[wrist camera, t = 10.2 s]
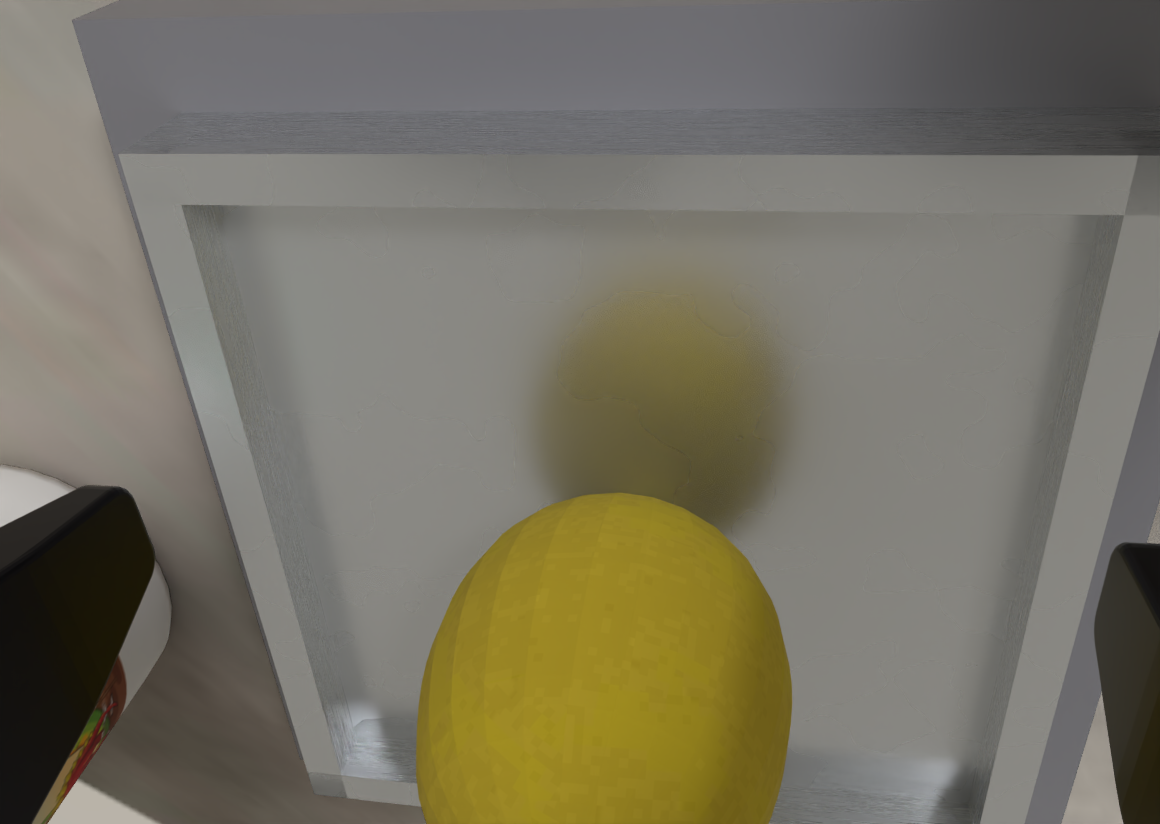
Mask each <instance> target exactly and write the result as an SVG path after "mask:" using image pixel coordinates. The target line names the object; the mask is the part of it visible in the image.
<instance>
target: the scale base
mask: <svg viewBox="0 0 1160 824" xmlns="http://www.w3.org/2000/svg"><path fill="white" fill-rule="evenodd" d="M72 22H73V25H74V29H75V32H76V35H77V38H78V42H79V45H80V48H81V51H82V55H83V58H84V61H85V64H86V67H87V71H88V74H89V77H90V80H91V84H92V87H93V90H94V93H95V97H96V100H97V103H98V106H99V110H100V113H101V116H102V119H103V122H104V126H105V129H106V132H107V135H108V139H109V142H110V145H111V148H112V152H113V155H114V158H115V161H116V165H117V168H118V171H119V174H120V177H121V181H122V184H123V187H124V190H125V194H126V197H127V200H128V203H129V207H130V210H131V213H132V216H133V220H134V223H135V226H136V229H137V232H138V236H139V239H140V242H141V245H142V249H143V252H144V255H145V258H146V262H147V265H148V268H149V271H150V275H151V278H152V281H153V284H154V288H155V291H156V294H157V297H158V300H159V304H160V307H161V310H162V313H163V317H164V320H165V323H166V326H167V330H168V333H169V336H170V339H171V343H172V346H173V349H174V352H175V355H176V359H177V362H178V365H179V368H180V372H181V375H182V378H183V381H184V385H185V388H186V391H187V394H188V398H189V401H190V404H191V407H192V410H193V414H194V417H195V420H196V423H197V427H198V430H199V433H200V436H201V440H202V443H203V446H204V449H205V453H206V456H207V459H208V462H209V465H210V469H211V472H212V475H213V478H214V482H215V485H216V488H217V491H218V495H219V498H220V501H221V504H222V508H223V511H224V514H225V517H226V520H227V524H228V527H229V530H230V533H231V537H232V540H233V543H234V546H235V550H236V553H237V556H238V559H239V563H240V566H241V569H242V572H243V575H244V579H245V582H246V585H247V588H248V592H249V595H250V598H251V601H252V605H253V608H254V611H255V614H256V618H257V621H258V624H259V627H260V631H261V634H262V637H263V640H264V643H265V647H266V650H267V653H268V656H269V660H270V663H271V666H272V669H273V673H274V676H275V679H276V682H277V686H278V689H279V692H280V695H281V698H282V702H283V705H284V708H285V711H286V715H287V718H288V721H289V724H290V728H291V731H292V734H293V737H294V741H295V744H296V747H297V750H298V753H299V757H300V759H302V760H304V759H303V756H302V752H301V749H300V746H299V743H298V739H297V736H296V733H295V730H294V726H293V723H292V720H291V716H290V713H289V710H288V707H287V703H286V700H285V697H284V694H283V690H282V687H281V684H280V681H279V677H278V674H277V671H276V668H275V664H274V661H273V658H272V654H271V651H270V648H269V645H268V641H267V638H266V635H265V632H264V628H263V625H262V622H261V619H260V615H259V612H258V609H257V606H256V602H255V599H254V596H253V592H252V589H251V586H250V583H249V579H248V576H247V573H246V570H245V566H244V563H243V560H242V557H241V553H240V550H239V547H238V544H237V540H236V537H235V534H234V530H233V527H232V524H231V521H230V517H229V514H228V511H227V508H226V504H225V501H224V498H223V495H222V491H221V488H220V485H219V482H218V478H217V475H216V472H215V468H214V465H213V462H212V459H211V455H210V452H209V449H208V446H207V442H206V439H205V436H204V433H203V429H202V426H201V423H200V419H199V416H198V413H197V410H196V406H195V403H194V400H193V397H192V393H191V390H190V387H189V384H188V380H187V377H186V374H185V371H184V367H183V364H182V361H181V357H180V354H179V351H178V348H177V344H176V341H175V338H174V335H173V331H172V328H171V325H170V322H169V318H168V315H167V312H166V309H165V305H164V302H163V299H162V295H161V292H160V289H159V286H158V282H157V279H156V276H155V273H154V269H153V266H152V263H151V260H150V256H149V253H148V250H147V247H146V243H145V240H144V237H143V233H142V230H141V227H140V224H139V220H138V217H137V214H136V211H135V207H134V204H133V201H132V198H131V194H130V191H129V188H128V185H127V181H126V178H125V175H124V171H123V168H122V165H121V162H120V158H119V155H118V154H119V153H120V152H122V151H123V150H125V149H126V148H128V147H129V146H131V145H133V144H134V143H136V142H137V141H139V140H140V139H142V138H143V137H145V136H147V135H148V134H150V133H151V132H153V131H154V130H156V129H157V128H159V127H161V126H162V125H164V124H165V123H167V122H168V121H170V120H171V119H173V118H175V117H176V116H178V115H179V114H181V113H182V112H348V111H521V110H693V109H865V108H1037V107H1160V0H119V1H116V2H114V3H111V4H109V5H107V6H104V7H102V8H100V9H97V10H95V11H92V12H90V13H88V14H85V15H83V16H80V17H78V18H76V19H73V20H72ZM1159 500H1160V331H1159V334H1158V338H1157V342H1156V345H1155V349H1154V353H1153V356H1152V360H1151V364H1150V367H1149V371H1148V374H1147V378H1146V382H1145V385H1144V389H1143V393H1142V396H1141V400H1140V404H1139V407H1138V411H1137V415H1136V418H1135V422H1134V426H1133V429H1132V433H1131V437H1130V440H1129V444H1128V448H1127V451H1126V455H1125V458H1124V462H1123V466H1122V469H1121V473H1120V477H1119V480H1118V484H1117V488H1116V491H1115V495H1114V499H1113V502H1112V506H1111V510H1110V513H1109V517H1108V521H1107V524H1106V528H1105V532H1104V535H1103V539H1102V542H1101V546H1100V550H1099V553H1098V557H1097V561H1096V564H1095V568H1094V572H1093V575H1092V579H1091V583H1090V586H1089V590H1088V594H1087V597H1086V601H1085V605H1084V608H1083V612H1082V615H1081V619H1080V623H1079V626H1078V630H1077V634H1076V637H1075V641H1074V645H1073V648H1072V652H1071V656H1070V659H1069V663H1068V667H1067V670H1066V674H1065V678H1064V681H1063V685H1062V689H1061V692H1060V696H1059V699H1058V703H1057V707H1056V710H1055V714H1054V718H1053V721H1052V725H1051V729H1050V732H1049V736H1048V740H1047V743H1046V747H1045V751H1044V754H1043V758H1042V762H1041V765H1040V769H1039V773H1038V776H1037V780H1036V783H1035V787H1034V791H1033V794H1032V798H1031V802H1030V805H1029V809H1028V813H1027V816H1026V820H1025V824H1061V823H1062V819H1063V816H1064V813H1065V809H1066V806H1067V803H1068V800H1069V796H1070V793H1071V790H1072V786H1073V783H1074V780H1075V777H1076V773H1077V770H1078V767H1079V763H1080V760H1081V757H1082V754H1083V750H1084V747H1085V744H1086V740H1087V737H1088V734H1089V731H1090V727H1091V724H1092V721H1093V717H1094V714H1095V711H1096V708H1097V704H1098V701H1099V698H1100V694H1101V691H1102V689H1101V683H1100V676H1099V669H1098V663H1097V656H1096V650H1095V642H1094V621H1095V614H1096V610H1097V606H1098V602H1099V598H1100V594H1101V591H1102V587H1103V583H1104V579H1105V575H1106V571H1107V567H1108V564H1109V560H1110V556H1111V554H1112V552H1113V550H1114V549H1115V547H1116V546H1117V545H1119V544H1121V543H1123V542H1134V543H1147V540H1148V537H1149V533H1150V530H1151V527H1152V523H1153V520H1154V517H1155V514H1156V510H1157V507H1158V504H1159Z"/></svg>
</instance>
